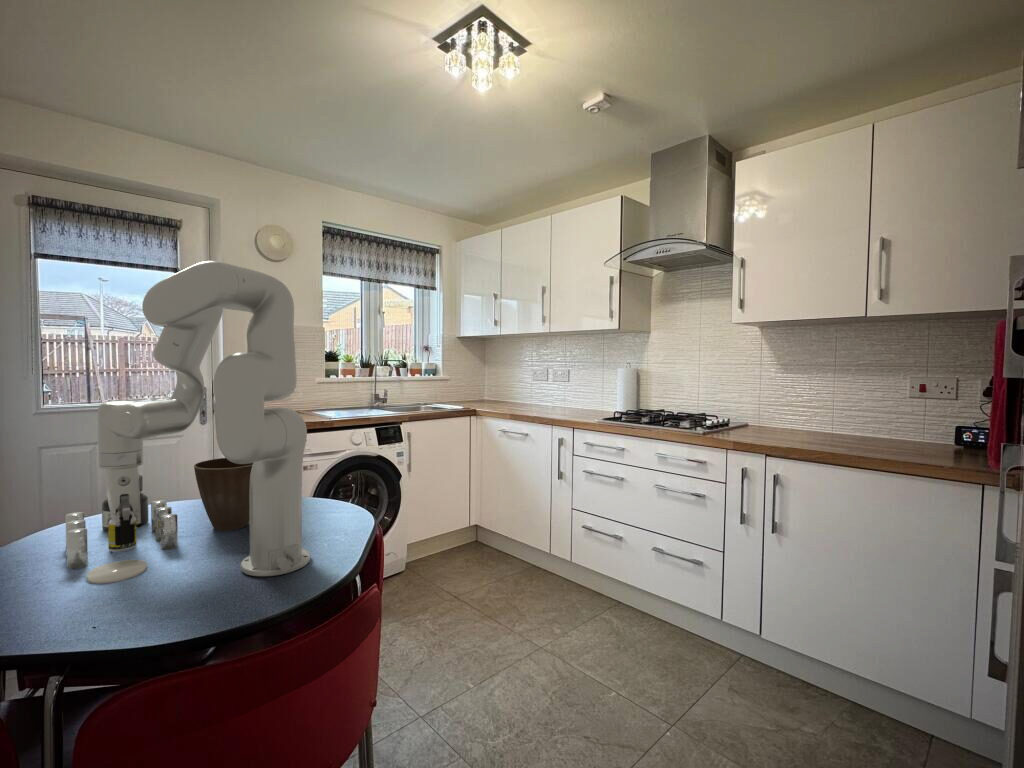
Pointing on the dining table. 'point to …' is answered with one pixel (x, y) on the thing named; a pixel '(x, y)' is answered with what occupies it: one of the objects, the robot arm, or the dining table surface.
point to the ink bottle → (140, 516)
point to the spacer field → (160, 524)
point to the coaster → (116, 571)
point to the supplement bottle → (112, 536)
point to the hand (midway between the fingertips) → (122, 537)
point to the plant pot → (224, 492)
